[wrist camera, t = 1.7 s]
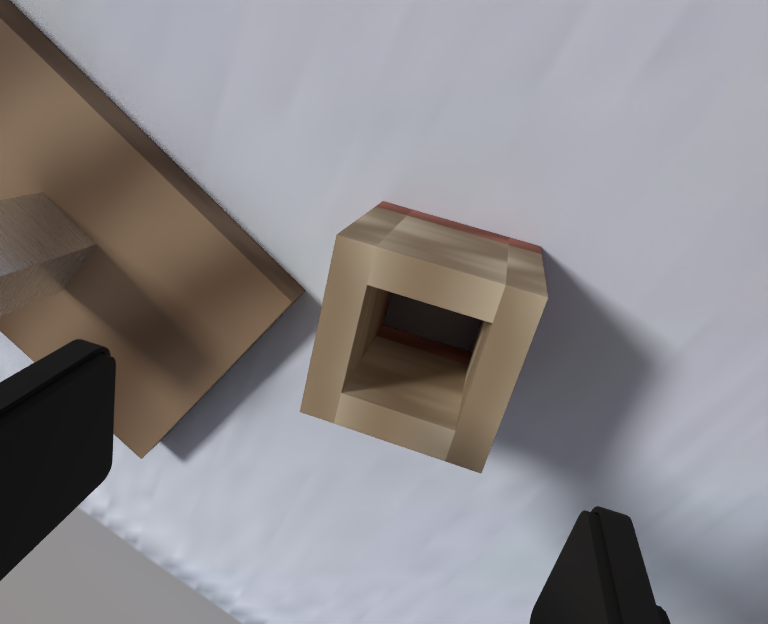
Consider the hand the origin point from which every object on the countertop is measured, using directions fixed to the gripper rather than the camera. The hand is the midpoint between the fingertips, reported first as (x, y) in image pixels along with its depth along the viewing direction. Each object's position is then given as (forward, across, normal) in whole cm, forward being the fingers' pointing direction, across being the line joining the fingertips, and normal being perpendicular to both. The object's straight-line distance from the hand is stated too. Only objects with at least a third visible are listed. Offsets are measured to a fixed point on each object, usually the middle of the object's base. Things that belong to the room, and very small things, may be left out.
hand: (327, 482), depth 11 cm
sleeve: (+13, -1, 0) cm, 13 cm away
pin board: (+13, +15, +3) cm, 20 cm away
